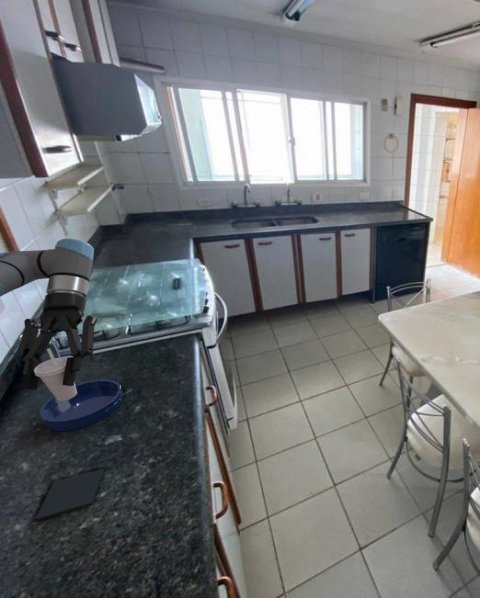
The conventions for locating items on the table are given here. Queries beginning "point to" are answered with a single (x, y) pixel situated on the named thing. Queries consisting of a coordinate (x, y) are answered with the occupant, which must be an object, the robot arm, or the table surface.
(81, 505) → the mat
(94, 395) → the bowl
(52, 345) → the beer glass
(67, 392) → the smoothie
